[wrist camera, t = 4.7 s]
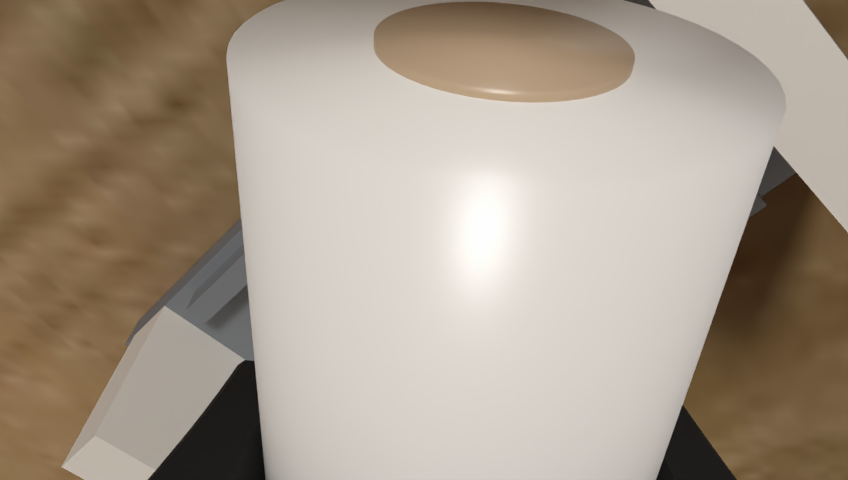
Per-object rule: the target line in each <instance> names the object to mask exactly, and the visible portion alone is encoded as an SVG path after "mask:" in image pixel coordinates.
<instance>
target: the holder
mask: <svg viewBox="0 0 848 480" xmlns="http://www.w3.org/2000/svg"><path fill="white" fill-rule="evenodd" d="M625 1H628V2H632V3H636V4H639V5H643V6H647V7H650V8H653V9H656V10H659V11H662V12H666V13H669V14H672V15H675V16H677V17H680V18H682V19H685V20H688V21H690V22H693V23H696V24H698V25H700V26H702V27H705V28H707V29H709V30H711V31H713V32H716V33H718V34H720V35H721V36H723V37H725V38H727V39H729V40H731V41H732V42H734V43H736V44H738V45H739V46H741V47H742V48H744V49H745V50H747V51H748V52H750V53H751V54H753V55H754V56H755V57H756V58H758V59H759V60H760V61H761V62H762V63H763V64H764V65H766V66H767V67H768V68H769V69H770V71H771V72H772V73H773V74H774V76H775V77H776V78H777V79H778V81H779V82H780V84H781V87H782V89H783V91H784V93H785V98H786V111H785V115H784V118H783V121H782V124H781V126H780V129H779V132H778V135H777V138H776V141H775V144H774V146H773V149H772V152H771V155H770V158H769V161H768V163H767V166H766V169H765V172H764V175H763V178H762V180H761V183H760V186H759V189H758V192H757V195H756V197H755V200H754V203H753V206H752V209H751V212H750V214H749V217H748V218H750V217H751V216H753V215H754V214H756V213H757V212H759V211H760V210H762V209H763V208H764V207H766V206H767V205H766V203H765V201H764V200H763V198H762V196H763V195H765V194H766V193H768V192H769V191H770V190H772V189H773V188H775V187H776V186H778V185H779V184H781V183H782V182H784V181H785V180H787V179H788V178H790V177H791V176H792V175H794V174H795V173H797V174H798V175H799V176H800V177H801V178H802V180H803V181H804V182H805V183H806V184H807V185H808V186H809V188H810V189H811V190H812V191H813V192H814V193H815V195H816V196H817V197H818V198H819V199H820V200H821V202H822V203H823V204H824V205H825V206H826V207H827V209H828V210H829V211H830V212H831V213H832V214H833V216H834V217H835V218H836V219H837V220H838V221H839V223H840V224H841V225H842V226H843V227H844V228H845V230H846V231H847V232H848V59H847V57H846V56H845V55H844V53H843V52H842V51H841V49H840V48H839V47H838V45H837V44H836V43H835V41H834V40H833V39H832V37H831V36H830V35H829V33H828V32H827V31H826V29H825V28H824V27H823V25H822V24H821V23H820V21H819V20H818V19H817V17H816V16H815V15H814V13H813V12H812V11H811V10H810V8H809V7H808V6H807V4H806V3H805V2H804V0H625ZM125 345H127V346H128V348H127V350H126V352H125V354H124V355H123V357H122V359H121V361H120V363H119V364H118V366H117V368H116V370H115V372H114V373H113V375H112V377H111V379H110V381H109V382H108V384H107V386H106V388H105V390H104V391H103V393H102V395H101V397H100V399H99V400H98V402H97V404H96V406H95V408H94V409H93V411H92V413H91V415H90V417H89V418H88V420H87V422H86V424H85V426H84V427H83V429H82V431H81V433H80V435H79V436H78V438H77V440H76V442H75V444H74V445H73V447H72V449H71V451H70V453H69V454H68V456H67V458H66V460H65V462H64V463H63V465H62V468H64V469H66V470H68V471H70V472H72V473H73V474H75V475H77V476H79V477H81V478H83V479H84V480H148V479H149V477H150V476H151V475H152V474H153V473H154V472H155V470H156V469H157V468H158V467H159V466H160V465H161V463H162V462H163V461H164V460H165V459H166V457H167V456H168V455H169V454H170V453H171V451H172V450H173V449H174V448H175V447H176V445H177V444H178V443H179V442H180V441H181V439H182V438H183V437H184V436H185V435H186V433H187V432H188V431H189V430H190V428H191V427H192V426H193V425H194V423H195V422H196V421H197V419H198V418H199V417H200V416H201V414H202V413H203V412H204V411H205V409H206V408H207V407H208V405H209V404H210V403H211V401H212V400H213V399H214V397H215V396H216V395H217V393H218V392H219V391H220V389H221V388H222V386H223V385H224V384H225V382H226V381H227V380H228V378H229V377H230V375H231V374H232V372H233V371H234V370H235V368H236V367H237V365H238V364H240V363H241V362H243V361H244V360H251V361H254V350H253V339H252V328H251V317H250V307H249V296H248V285H247V274H246V264H245V253H244V242H243V231H242V220H241V219H240V220H239V221H238V222H237V223H236V224H235V225H234V226H233V227H232V228H231V229H230V230H229V231H228V232H227V233H226V234H225V235H224V236H223V237H222V238H221V239H220V240H219V241H218V242H217V243H216V244H215V245H214V246H213V247H212V248H211V249H210V250H209V251H208V252H207V253H206V254H205V255H204V256H203V257H202V258H201V259H200V260H199V261H198V262H197V263H196V264H195V265H194V266H193V267H192V268H191V269H190V270H189V271H188V272H187V273H186V274H185V275H184V276H183V277H182V278H181V279H180V280H179V281H178V282H177V283H176V284H175V285H174V286H173V287H172V288H171V289H170V290H169V291H168V292H167V293H166V294H165V295H164V296H163V297H162V298H161V299H160V300H159V301H158V302H157V303H156V304H155V305H154V306H153V307H152V308H151V309H150V310H149V311H148V312H147V313H146V314H145V315H144V316H143V317H142V318H141V319H140V320H139V321H138V323H137V325H136V326H135V328H134V330H133V332H132V334H131V335H130V337H129V339H128V341H127V342H126V344H125Z"/></svg>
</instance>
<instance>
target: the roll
mask: <svg viewBox="0 0 848 480" xmlns="http://www.w3.org/2000/svg"><path fill="white" fill-rule="evenodd" d="M226 59H227V70H228V80H229V91H230V102H231V113H232V123H233V134H234V145H235V156H236V167H237V177H238V188H239V199H240V210H241V220H242V231H243V242H244V253H245V264H246V274H247V285H248V296H249V307H250V317H251V328H252V339H253V350H254V361H255V371H256V382H257V393H258V404H259V414H260V425H261V436H262V447H263V458H264V468H265V479H266V480H656V478H657V476H658V473H659V470H660V467H661V464H662V461H663V459H664V456H665V453H666V450H667V447H668V444H669V442H670V439H671V436H672V433H673V430H674V427H675V425H676V422H677V419H678V416H679V413H680V410H681V407H682V405H683V402H684V399H685V396H686V393H687V390H688V388H689V385H690V382H691V379H692V376H693V373H694V371H695V368H696V365H697V362H698V359H699V356H700V354H701V351H702V348H703V345H704V342H705V339H706V337H707V334H708V331H709V328H710V325H711V322H712V319H713V317H714V314H715V311H716V308H717V305H718V302H719V300H720V297H721V294H722V291H723V288H724V285H725V283H726V280H727V277H728V274H729V271H730V268H731V266H732V263H733V260H734V257H735V254H736V251H737V249H738V246H739V243H740V240H741V237H742V234H743V232H744V229H745V226H746V223H747V220H748V217H749V214H750V212H751V209H752V206H753V203H754V200H755V197H756V195H757V192H758V189H759V186H760V183H761V180H762V178H763V175H764V172H765V169H766V166H767V163H768V161H769V158H770V155H771V152H772V149H773V146H774V144H775V141H776V138H777V135H778V132H779V129H780V126H781V124H782V121H783V118H784V115H785V111H786V98H785V93H784V91H783V89H782V87H781V84H780V82H779V81H778V79H777V78H776V77H775V76H774V74H773V73H772V72H771V71H770V69H769V68H768V67H767V66H766V65H764V64H763V63H762V62H761V61H760V60H759V59H758V58H756V57H755V56H754V55H753V54H751V53H750V52H748V51H747V50H745V49H744V48H742V47H741V46H739V45H738V44H736V43H734V42H732V41H731V40H729V39H727V38H725V37H723V36H721V35H720V34H718V33H716V32H713V31H711V30H709V29H707V28H705V27H702V26H700V25H698V24H696V23H693V22H690V21H688V20H685V19H682V18H680V17H677V16H675V15H672V14H669V13H666V12H662V11H659V10H656V9H653V8H650V7H647V6H643V5H639V4H636V3H632V2H628V1H625V0H285V1H282V2H279V3H277V4H274V5H272V6H270V7H268V8H266V9H264V10H262V11H260V12H259V13H257V14H256V15H254V16H253V17H251V18H250V19H248V20H247V21H246V22H244V24H243V25H242V26H241V27H240V28H239V29H238V30H237V31H236V32H235V33H234V35H233V37H232V39H231V40H230V42H229V44H228V50H227V56H226Z"/></svg>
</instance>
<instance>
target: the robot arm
mask: <svg viewBox="0 0 848 480" xmlns="http://www.w3.org/2000/svg"><path fill="white" fill-rule="evenodd" d="M148 480H266V479H265V468H264V458H263V447H262V436H261V425H260V414H259V404H258V393H257V382H256V371H255V361H251V360H244V361H243V362H241V363H240V364H238V365H237V367H236V368H235V370H234V371H233V372H232V374H231V375H230V377H229V378H228V380H227V381H226V382H225V384H224V385H223V386H222V388H221V389H220V391H219V392H218V393H217V395H216V396H215V397H214V399H213V400H212V401H211V403H210V404H209V405H208V407H207V408H206V409H205V411H204V412H203V413H202V414H201V416H200V417H199V418H198V419H197V421H196V422H195V423H194V425H193V426H192V427H191V428H190V430H189V431H188V432H187V433H186V435H185V436H184V437H183V438H182V439H181V441H180V442H179V443H178V444H177V445H176V447H175V448H174V449H173V450H172V451H171V453H170V454H169V455H168V456H167V457H166V459H165V460H164V461H163V462H162V463H161V465H160V466H159V467H158V468H157V469H156V470H155V472H154V473H153V474H152V475H151V476H150V477H149V479H148ZM656 480H737V479H736V478H735V477H734V475H733V474H732V473H731V471H730V470H729V469H728V467H727V466H726V465H725V463H724V462H723V460H722V459H721V458H720V456H719V455H718V454H717V452H716V451H715V449H714V448H713V447H712V445H711V444H710V443H709V441H708V440H707V438H706V437H705V436H704V434H703V433H702V431H701V430H700V428H699V427H698V426H697V424H696V423H695V421H694V420H693V419H692V417H691V416H690V414H689V413H688V412H687V410H686V409H685V407H684V406H683V405H682V407H681V410H680V413H679V416H678V419H677V422H676V425H675V427H674V430H673V433H672V436H671V439H670V442H669V444H668V447H667V450H666V453H665V456H664V459H663V461H662V464H661V467H660V470H659V473H658V476H657V478H656Z"/></svg>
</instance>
